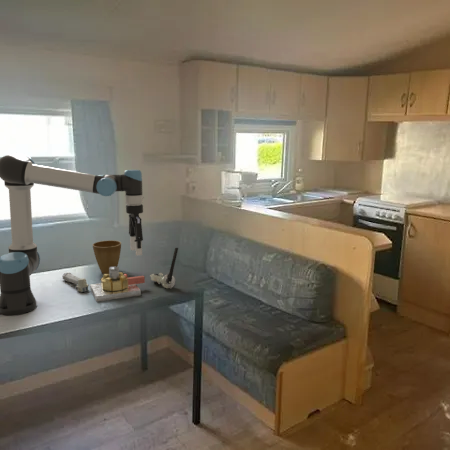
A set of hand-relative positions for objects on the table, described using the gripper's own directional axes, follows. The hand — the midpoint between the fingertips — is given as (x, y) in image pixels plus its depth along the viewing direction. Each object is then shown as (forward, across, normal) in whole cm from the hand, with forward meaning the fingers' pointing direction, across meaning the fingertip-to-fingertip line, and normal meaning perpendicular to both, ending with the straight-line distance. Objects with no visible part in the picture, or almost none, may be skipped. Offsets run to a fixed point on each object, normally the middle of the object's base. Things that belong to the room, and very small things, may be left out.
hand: (136, 252), depth 212 cm
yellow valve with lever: (+17, +5, +5) cm, 18 cm away
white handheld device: (+20, +24, +25) cm, 40 cm away
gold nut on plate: (+20, +5, +10) cm, 22 cm away
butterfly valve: (+20, +8, -14) cm, 26 cm away
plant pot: (+20, +39, +6) cm, 45 cm away
